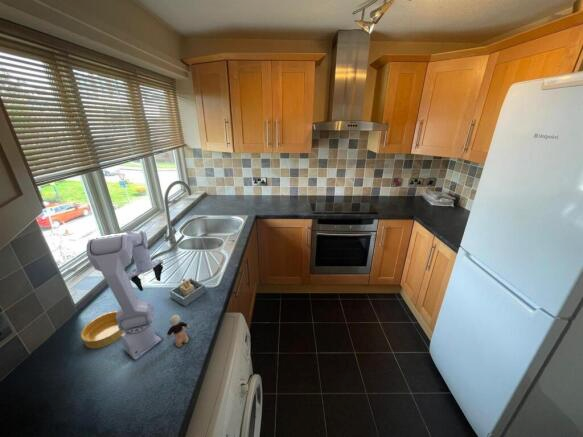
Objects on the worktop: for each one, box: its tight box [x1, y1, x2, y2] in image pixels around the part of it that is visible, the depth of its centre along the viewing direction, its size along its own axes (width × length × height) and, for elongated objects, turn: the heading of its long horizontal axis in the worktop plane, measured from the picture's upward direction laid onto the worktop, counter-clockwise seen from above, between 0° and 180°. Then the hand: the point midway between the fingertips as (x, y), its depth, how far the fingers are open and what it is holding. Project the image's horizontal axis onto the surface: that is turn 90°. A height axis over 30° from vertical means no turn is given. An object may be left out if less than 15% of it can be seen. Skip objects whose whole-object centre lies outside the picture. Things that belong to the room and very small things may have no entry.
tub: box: [169, 277, 207, 307], centre depth 110 cm, size 11×10×4 cm
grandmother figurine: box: [166, 314, 190, 348], centre depth 84 cm, size 8×4×13 cm, turn 141°
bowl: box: [80, 310, 125, 349], centre depth 90 cm, size 14×14×4 cm
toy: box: [180, 278, 195, 297], centre depth 109 cm, size 4×5×8 cm
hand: (150, 285), depth 103 cm, fingers open, 7 cm apart
